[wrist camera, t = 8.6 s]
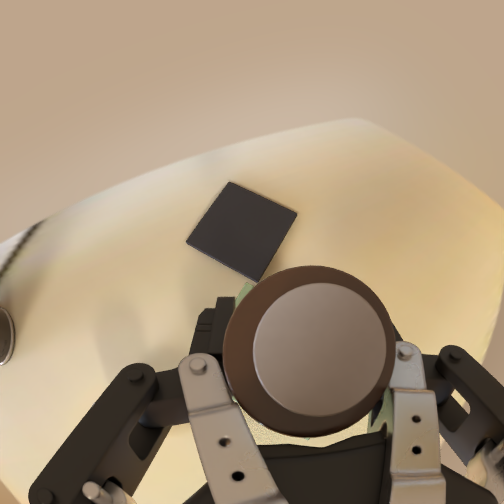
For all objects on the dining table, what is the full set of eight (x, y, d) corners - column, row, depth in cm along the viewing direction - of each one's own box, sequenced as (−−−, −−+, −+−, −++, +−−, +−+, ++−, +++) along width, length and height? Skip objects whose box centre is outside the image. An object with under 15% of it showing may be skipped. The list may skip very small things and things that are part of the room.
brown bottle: (225, 373, 15) (178, 386, 6) (268, 302, 17) (281, 219, 7) (300, 413, 14) (357, 474, 5) (339, 340, 16) (437, 303, 6)
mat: (186, 243, 35) (185, 241, 34) (229, 183, 38) (229, 181, 38) (257, 283, 33) (257, 281, 32) (296, 215, 36) (297, 213, 36)
